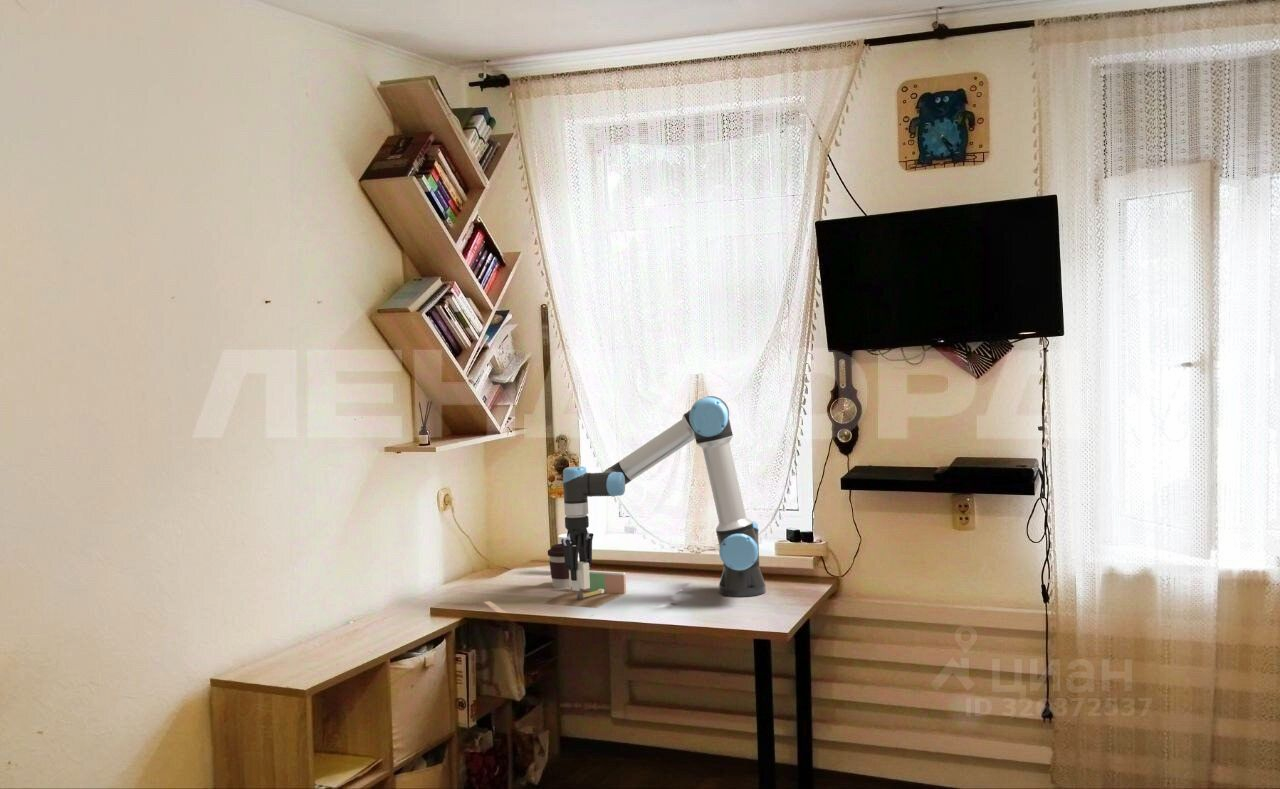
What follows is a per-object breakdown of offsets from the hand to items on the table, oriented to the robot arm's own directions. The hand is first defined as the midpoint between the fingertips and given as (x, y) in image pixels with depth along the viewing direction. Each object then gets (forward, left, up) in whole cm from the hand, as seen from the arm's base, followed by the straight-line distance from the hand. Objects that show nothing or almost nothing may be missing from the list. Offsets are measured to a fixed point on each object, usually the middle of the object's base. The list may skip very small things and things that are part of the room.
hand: (579, 589), depth 323 cm
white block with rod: (-1, -4, -3) cm, 6 cm away
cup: (+26, -39, -5) cm, 47 cm away
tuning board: (0, -2, -5) cm, 5 cm away
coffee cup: (+16, -17, -5) cm, 24 cm away
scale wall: (0, -12, -3) cm, 12 cm away
